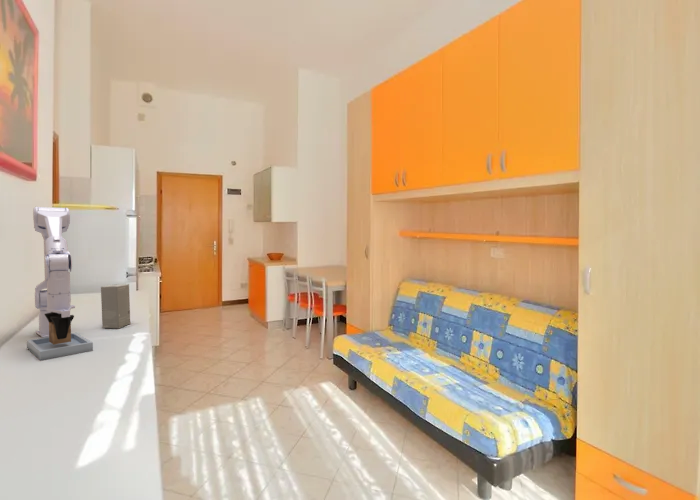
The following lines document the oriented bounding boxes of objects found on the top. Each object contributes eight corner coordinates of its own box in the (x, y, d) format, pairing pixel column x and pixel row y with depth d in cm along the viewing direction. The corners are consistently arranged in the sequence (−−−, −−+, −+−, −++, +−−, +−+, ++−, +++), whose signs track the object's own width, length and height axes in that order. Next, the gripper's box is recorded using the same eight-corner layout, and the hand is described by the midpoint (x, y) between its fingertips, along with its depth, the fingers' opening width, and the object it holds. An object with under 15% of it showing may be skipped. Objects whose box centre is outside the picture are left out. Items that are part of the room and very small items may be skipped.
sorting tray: (26, 348, 123) (26, 340, 123) (76, 340, 133) (76, 332, 133) (40, 360, 113) (40, 351, 113) (92, 350, 123) (92, 342, 123)
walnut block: (49, 341, 123) (48, 322, 123) (66, 338, 126) (66, 319, 126) (53, 344, 120) (53, 324, 120) (71, 341, 123) (70, 322, 123)
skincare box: (118, 329, 148) (118, 286, 147) (99, 328, 148) (99, 286, 148) (131, 323, 157) (131, 283, 156) (113, 323, 157) (113, 282, 156)
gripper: (81, 294, 121) (82, 339, 121) (67, 288, 130) (67, 330, 131) (53, 297, 115) (54, 343, 116) (40, 291, 125) (41, 334, 125)
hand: (59, 336), depth 123 cm, fingers closed on walnut block, 4 cm apart
